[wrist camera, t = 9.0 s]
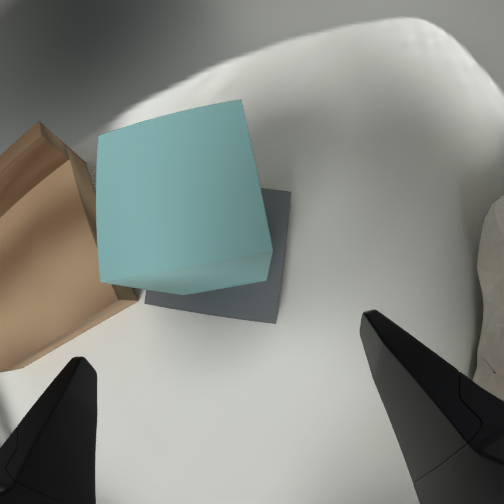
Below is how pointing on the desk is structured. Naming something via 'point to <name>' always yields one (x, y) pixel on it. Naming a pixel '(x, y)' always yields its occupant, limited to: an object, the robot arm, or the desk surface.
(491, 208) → the decorative stone
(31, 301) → the tan piece
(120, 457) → the desk surface
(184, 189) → the teal block
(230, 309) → the gray block
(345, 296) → the desk surface
